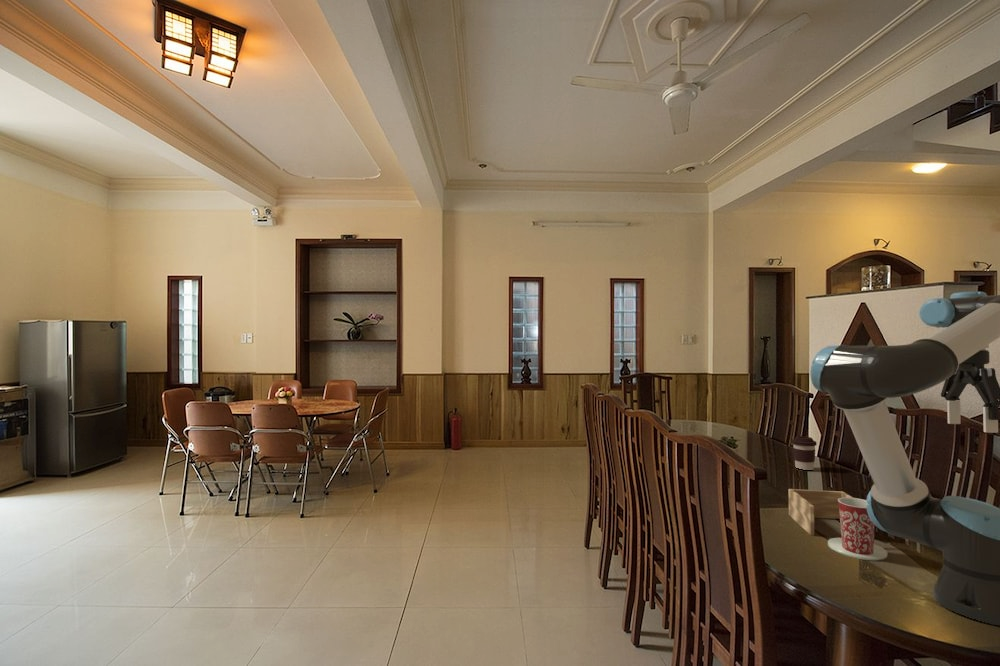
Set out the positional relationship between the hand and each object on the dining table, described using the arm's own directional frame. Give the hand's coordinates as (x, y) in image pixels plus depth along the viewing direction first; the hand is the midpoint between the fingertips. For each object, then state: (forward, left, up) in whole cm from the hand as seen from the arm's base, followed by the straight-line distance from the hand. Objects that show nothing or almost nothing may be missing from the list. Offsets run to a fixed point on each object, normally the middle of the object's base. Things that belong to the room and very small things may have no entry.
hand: (971, 428), depth 134 cm
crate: (+24, +26, -37) cm, 51 cm away
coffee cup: (+101, +5, -37) cm, 108 cm away
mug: (+5, +26, -36) cm, 45 cm away
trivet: (+5, +26, -37) cm, 45 cm away
